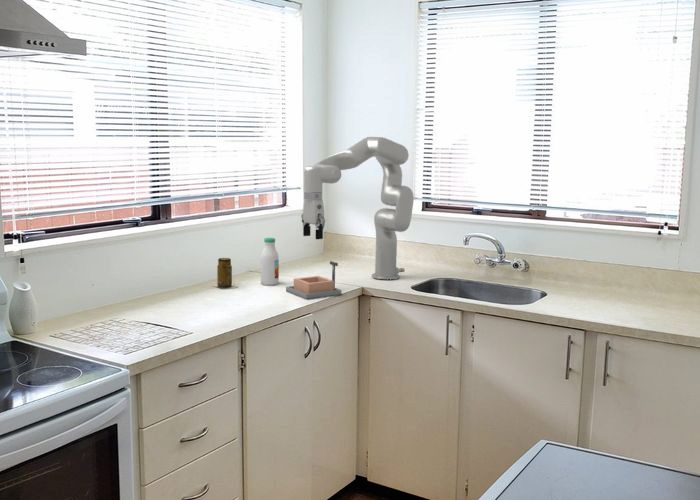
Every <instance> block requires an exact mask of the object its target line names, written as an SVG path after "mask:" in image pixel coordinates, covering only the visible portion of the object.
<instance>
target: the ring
mask: <svg viewBox="0 0 700 500" xmlns="http://www.w3.org/2000/svg"><path fill="white" fill-rule="evenodd" d="M293 286H294V289H295V290H298V291H301V292H303V293H306V294H311V293H319V292H327V291H334V281H332V279H329V278H326V277H323V276H320V275H314V276H306V277H298V278H296V277H295V278H293Z"/></svg>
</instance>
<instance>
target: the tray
mask: <svg viewBox="0 0 700 500" xmlns="http://www.w3.org/2000/svg"><path fill="white" fill-rule="evenodd" d="M285 292H286V293H289V294H291V295H294V296H296V297H299V298H302V299H304V300H314V299H320V298H321V297H322V298H328V297H327V296H329V297H336V296H337V297H338V296H342V289H339V288H338V287H337V288H336V287H335V288H334V291H327V292H319V293H311V294H306V293H303V292H301V291H298V290H295V289H294V285H290V286H286V287H285Z"/></svg>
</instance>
